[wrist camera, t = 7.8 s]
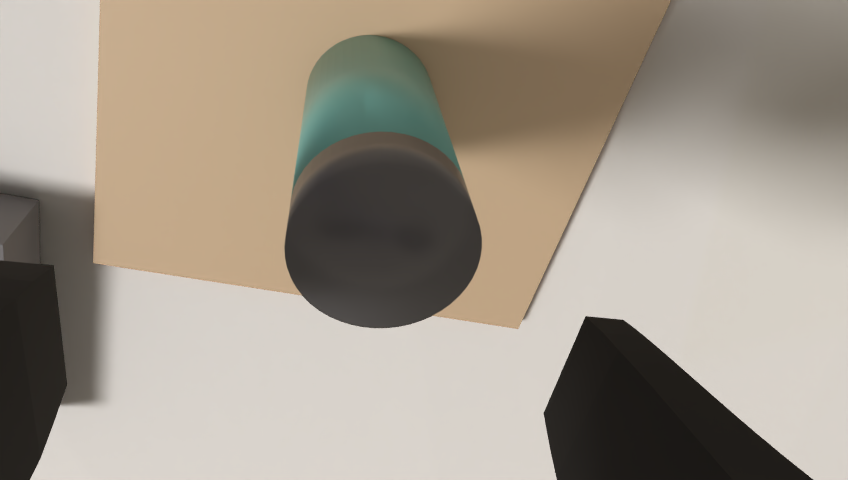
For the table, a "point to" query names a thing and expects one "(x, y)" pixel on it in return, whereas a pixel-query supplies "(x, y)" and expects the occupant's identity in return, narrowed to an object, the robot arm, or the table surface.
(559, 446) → the robot arm
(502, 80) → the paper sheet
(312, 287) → the cylindrical container
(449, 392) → the table surface
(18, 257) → the button frame
